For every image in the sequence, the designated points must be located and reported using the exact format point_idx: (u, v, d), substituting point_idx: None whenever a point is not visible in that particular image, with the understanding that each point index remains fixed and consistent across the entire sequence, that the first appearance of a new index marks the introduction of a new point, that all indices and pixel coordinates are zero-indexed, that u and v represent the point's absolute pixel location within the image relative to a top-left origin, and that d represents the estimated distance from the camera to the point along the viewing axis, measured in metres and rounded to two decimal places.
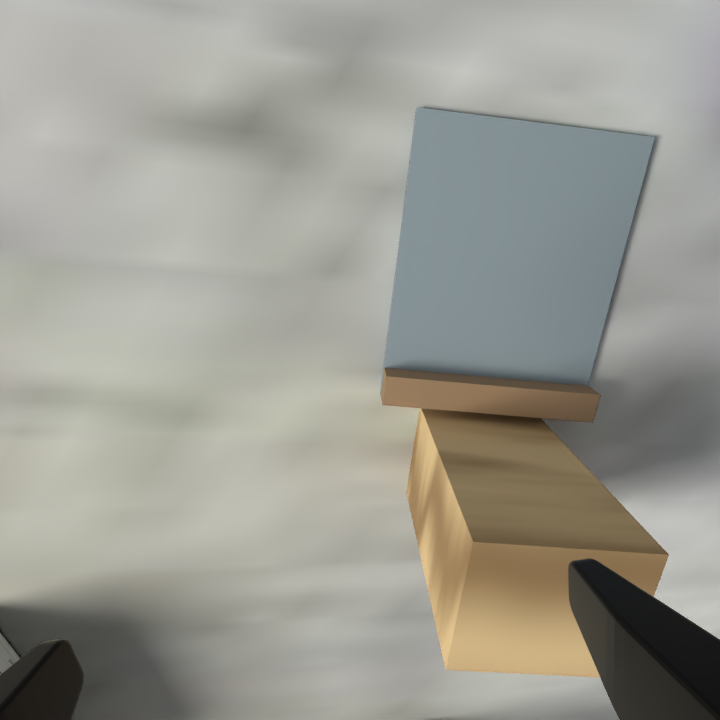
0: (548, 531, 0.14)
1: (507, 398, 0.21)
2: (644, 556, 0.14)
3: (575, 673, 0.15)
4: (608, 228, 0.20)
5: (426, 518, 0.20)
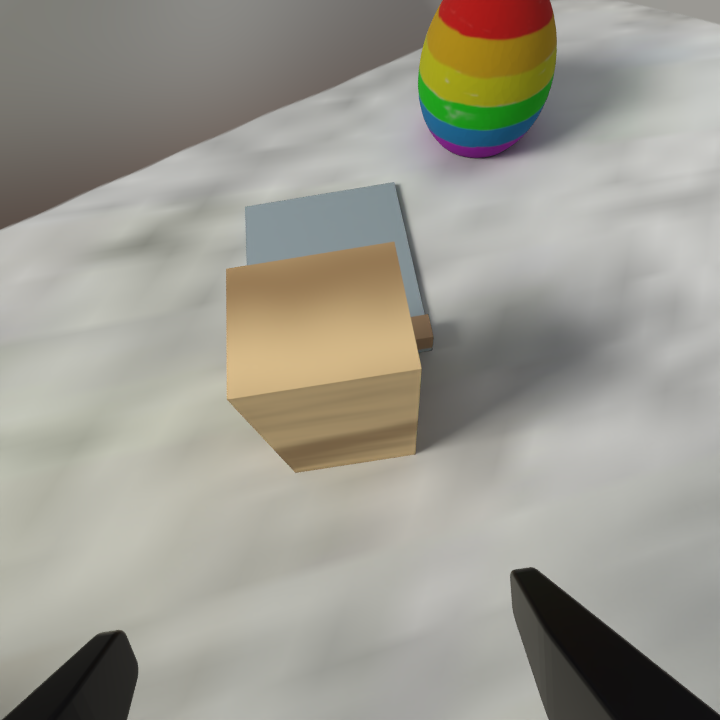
0: None
1: None
2: (375, 249, 0.16)
3: (369, 378, 0.14)
4: (388, 228, 0.29)
5: None
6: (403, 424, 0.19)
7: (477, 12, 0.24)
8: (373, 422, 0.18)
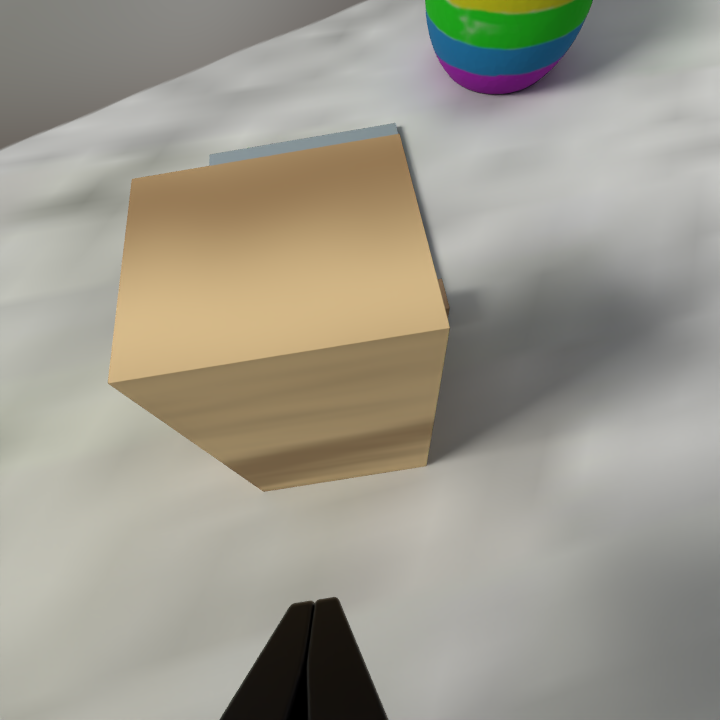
0: None
1: None
2: (369, 145, 0.10)
3: (357, 345, 0.08)
4: None
5: None
6: (411, 425, 0.13)
7: None
8: (368, 422, 0.12)
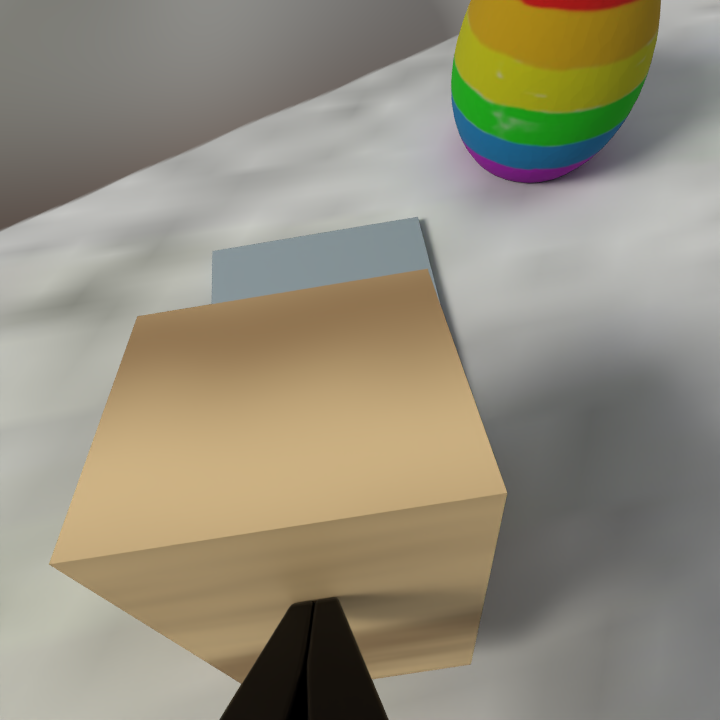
0: None
1: None
2: (395, 280, 0.09)
3: (383, 515, 0.06)
4: None
5: None
6: (453, 615, 0.10)
7: None
8: (396, 612, 0.09)
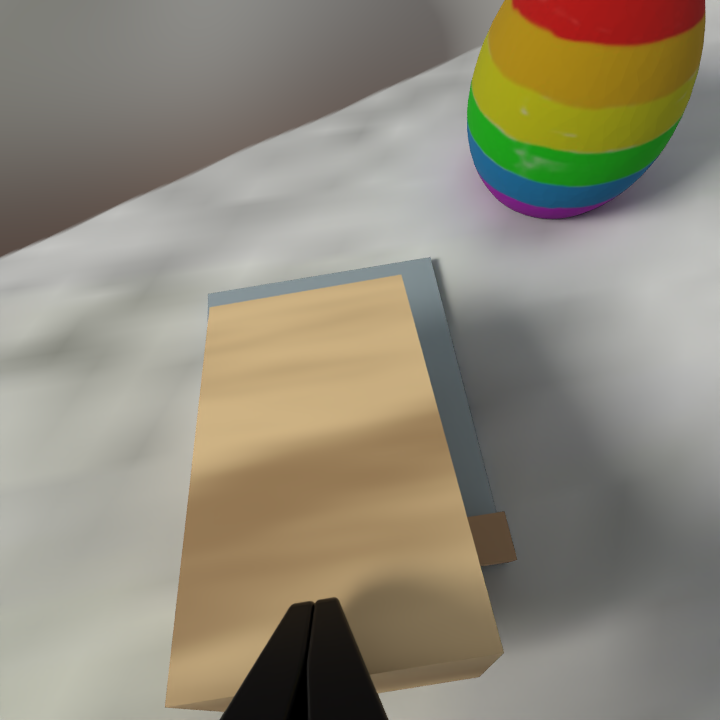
0: None
1: None
2: None
3: (349, 285, 0.14)
4: (425, 334, 0.19)
5: None
6: (414, 416, 0.11)
7: None
8: (363, 397, 0.12)
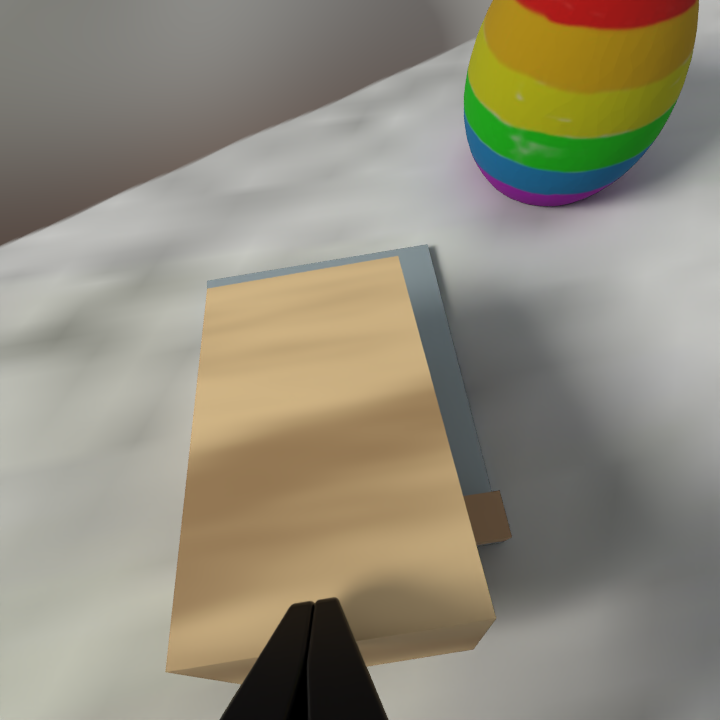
0: None
1: None
2: None
3: (347, 266, 0.14)
4: (422, 319, 0.19)
5: None
6: (410, 393, 0.11)
7: None
8: (360, 374, 0.12)
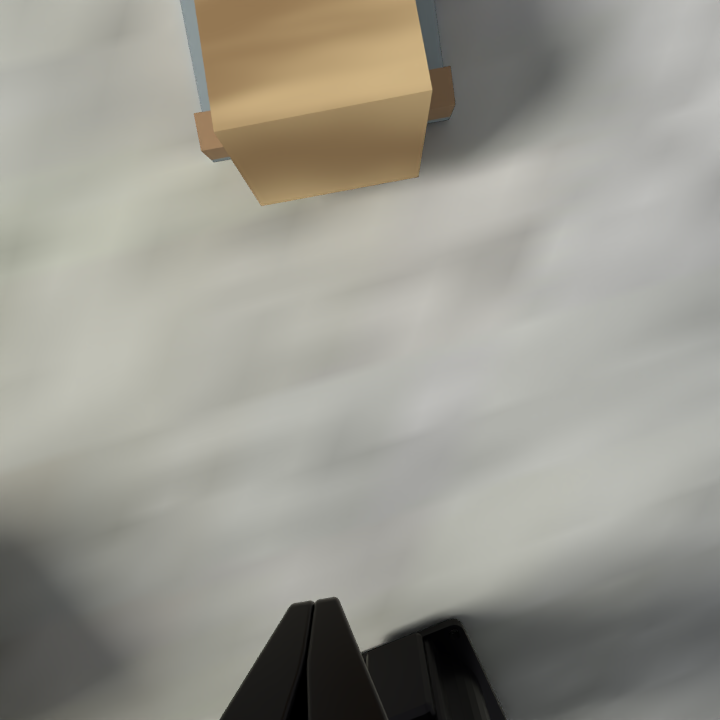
0: None
1: None
2: None
3: None
4: None
5: None
6: None
7: None
8: None
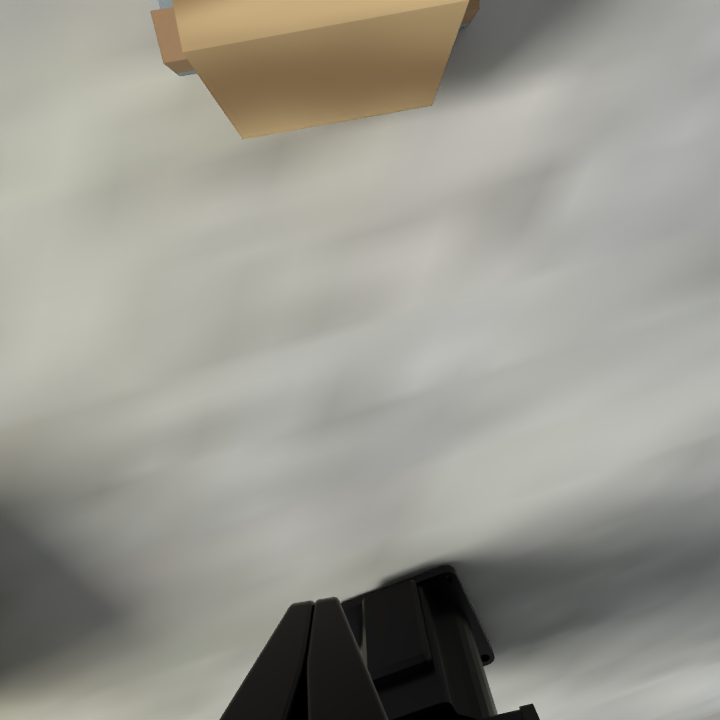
0: None
1: None
2: None
3: None
4: None
5: None
6: None
7: None
8: None
